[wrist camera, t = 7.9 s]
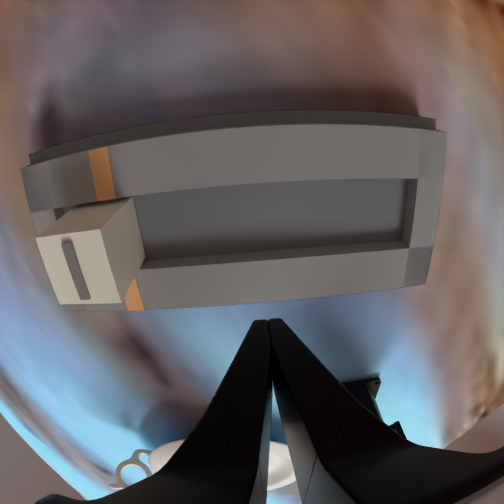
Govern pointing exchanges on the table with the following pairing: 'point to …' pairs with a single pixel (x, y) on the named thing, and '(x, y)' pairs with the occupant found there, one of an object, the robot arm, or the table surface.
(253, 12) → the table surface
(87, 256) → the fader knob
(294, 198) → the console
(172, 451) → the candlestick
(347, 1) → the table surface
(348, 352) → the table surface
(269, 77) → the table surface
